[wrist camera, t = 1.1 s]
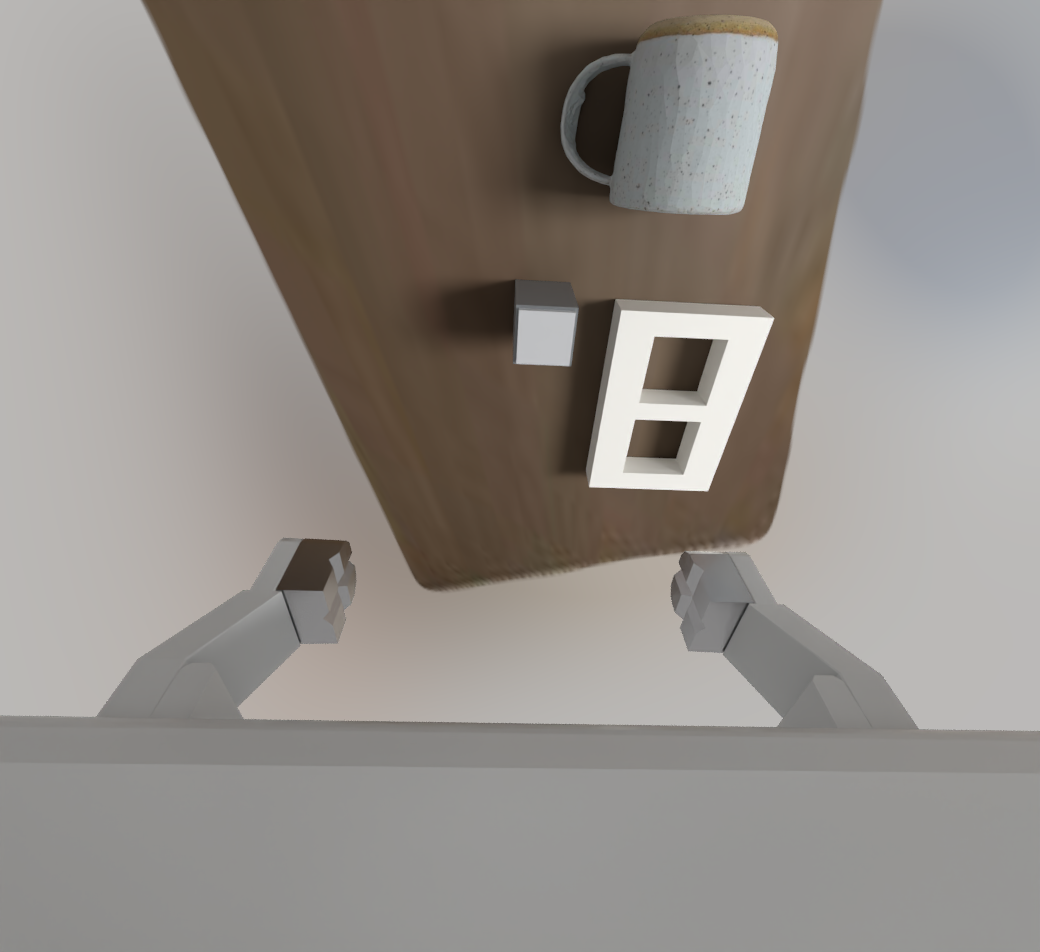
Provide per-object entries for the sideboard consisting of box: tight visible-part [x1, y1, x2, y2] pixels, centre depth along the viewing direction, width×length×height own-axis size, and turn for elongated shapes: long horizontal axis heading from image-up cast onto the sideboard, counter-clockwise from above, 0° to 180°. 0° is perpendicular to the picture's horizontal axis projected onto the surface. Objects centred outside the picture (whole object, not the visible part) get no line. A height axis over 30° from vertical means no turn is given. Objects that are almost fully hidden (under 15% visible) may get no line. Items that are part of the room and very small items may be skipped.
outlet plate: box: [586, 299, 774, 491], centre depth 39 cm, size 16×11×2 cm
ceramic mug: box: [561, 15, 778, 215], centre depth 26 cm, size 11×8×8 cm
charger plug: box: [513, 280, 579, 366], centre depth 33 cm, size 4×4×6 cm
